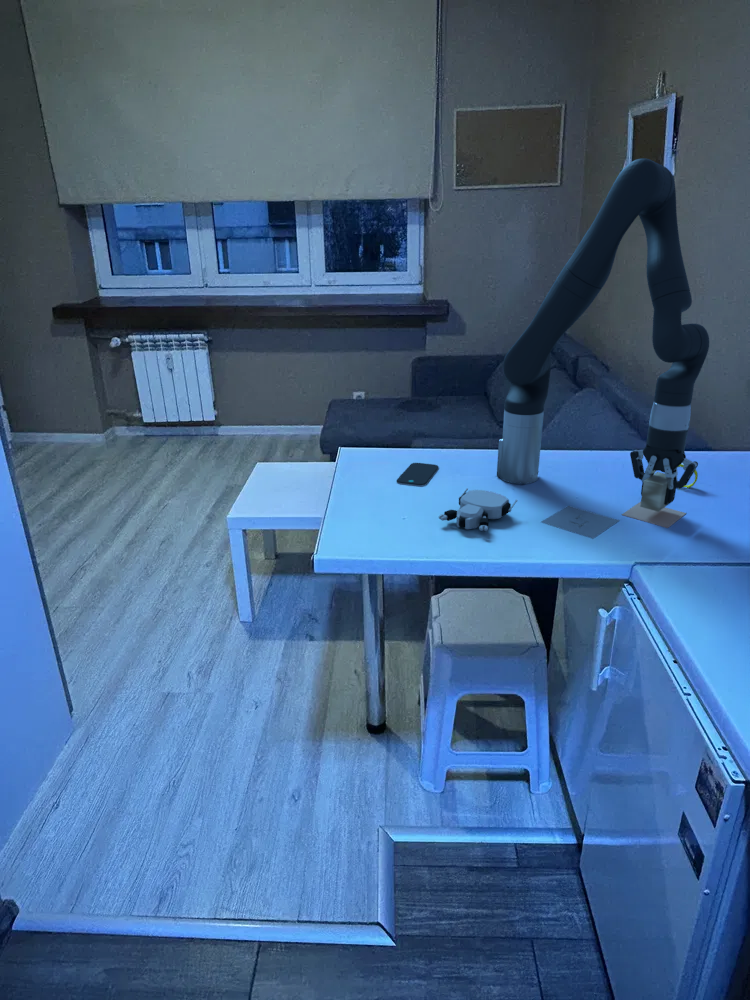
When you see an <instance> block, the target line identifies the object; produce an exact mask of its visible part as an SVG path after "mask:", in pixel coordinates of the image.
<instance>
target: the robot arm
mask: <svg viewBox="0 0 750 1000" xmlns="http://www.w3.org/2000/svg"><path fill="white" fill-rule="evenodd" d="M676 192H677V191H676V182H675V178H674V175H673V172H671V170H670V169H669V168H667V167H666V166H664V165H662V164H660V163H658V162H656V161H654V160H652V159H650V158H646V157H645V158H644V157H643V158H637V159H634V160H633V161H631V162H629V163H628V164H627V165H625V167H623V169H622V170H621V171H620V172H619V174H618V175H617V177H616V179H615V180H614V182H613V183H612V186H611V187H610V190H609V191H608V193H607V194H606V195H607V196H606V197H605V199H604V201H603V203H602V205H601V207H600V208H599V211H598V212H597V214H596V216H595V218H594V220H593V222H592V223H591V225H590V227H588V229H587V230H586V233H585V234H584V235H583V237H582V239H581V241H580V242H579V243H578V245H577V246H576V248H575V250H574V252H573V253H572V255H571V256H570V258H569V259H568V261H567V262H566V263H565V265H564V267H563V268H562V270H561V271H560V272H559V273H558V276H557V277H556V279H555V281H554V282H553V284H552V286H551V287H550V289H549V291H548V292H547V294H546V296H545V298H544V299H543V301H542V303H541V304H540V306H539V307H538V310H537V311H536V314H535V316H534V317H533V318H532V320H531V321H530V323H529V324H528V325H527V327H526V329H525V330H524V331H523V333H521V335H520V336H519V338H518V339H517V340H516V341H515V343H514V344H513V345H512V346H511V348H510V349H509V350H508V351H507V353H505V356H504V359H503V362H502V363H503V364H502V370H503V375H504V377H505V379H506V380H507V381H508V382H510V387H509V390H508V392H507V395H506V396H505V399H504V410H503V411H504V412H503V427H502V438H500V439H499V440H498V449H497V463H496V464H497V465H496V477H498V478H500V479H501V480H502V481H505V482H507V483H510V484H516V485H518V484H520V485H521V484H522V485H524V484H525V485H526V484H527V485H528V484H531V483H532V484H533V483H534V482H536V481H538V479H539V478H538V477H539V472H540V471H539V467H540V456H541V446H542V434H543V425H544V412H545V411H544V410H545V404H546V401H547V398H548V395H549V394H548V393H549V387H550V380H551V379H550V378H551V371H552V370H551V369H552V357H551V353H552V351H553V349H554V348H555V346H556V344H557V343H558V342H559V340H560V339H561V338H562V337H563V335H565V333H566V332H567V331H568V330H569V329H570V328H571V327H572V326H573V325H574V324H575V323H576V322H577V321H578V319H580V318H581V316H582V315H583V314H584V313H585V312H586V311H587V310H588V309H589V307H590V306H591V304H592V303H593V302H594V301H595V299H596V298H597V296H598V295H599V293H600V292H601V291H602V289H603V288H604V286H605V284H606V282H607V281H608V279H609V276H610V275H611V272H612V269H613V265H614V262H615V258H616V255H617V251H618V249H619V247H620V246H619V245H620V243H621V241H622V239H623V238H624V236H625V234H626V232H628V230H629V228H630V227H631V225H632V224H633V223H634V221H635V220H636V219H637V218H638V216H639V220H640V221H641V223H642V227H643V229H644V232H645V238H646V245H647V250H646V251H647V256H646V279H647V281H646V282H647V287H648V291H649V296H650V299H651V305H652V308H653V317H652V337H651V338H652V340H651V341H652V347H653V350H654V353H655V354H656V356H657V357H658V359H660V360H661V362H664V363H668V364H669V363H672V364H671V366H670V368H669V369H668V370H666V371H664V372H663V373H661V374H659V376H658V377H657V380H656V385H655V390H654V398H653V404H652V407H651V409H650V417H649V422H648V429H647V437H646V441H645V442H646V445H645V447H644V448H643V449H639V448H636V449H634V450H632V451H631V452H630V453H629V455H630V462H631V466H632V472H633V476H634V478H635V479H639V480H640V481H641V484H642V485H641V491H640V495H641V497H642V491H643V484H644V480H646V479H647V478H650V476H652V475H654V474H655V473H657V472H659V471H660V472H661V473H664V474H665V477H666V479H667V485H668V488H667V489H666V495H665V501H664V504H665V505H667V506H669V505H670V504H671V503H673V502H674V500H675V497H676V490H677V489H681V490H682V489H684V488H683V487H684V486H685V485H688V483H689V481H690V480H691V478H692V476H693V475H694V471H695V470H696V471H697V467H698V465H699V463H698V461H692V460H690V459H688V458H687V455H686V453H685V449H686V445H687V440H688V439H687V437H688V432H689V427H690V424H691V414H692V413H691V411H692V409H691V407H692V401H693V395H694V386H695V383H696V381H697V379H698V377H699V374H700V373H701V370H702V368H703V365H704V364H705V361H706V359H707V355H708V353H709V349H710V335H709V332H708V331H707V329H706V328H705V327H704V326H703V325H702V324H700V323H686V324H685V323H684V324H682V313H684V312H686V311H687V310H689V309H690V308H691V306H692V302H693V301H692V293H691V289H690V285H689V280H688V275H687V272H686V268H685V263H684V258H683V253H682V249H681V241H680V235H679V233H680V232H679V227H678V215H677V195H676V194H677V193H676ZM644 458H645V461H646V462H647V466H646V468H645V469H644V463H643V459H644ZM681 463H683V464H684V467H682V469H683V470H684V472H683V473H682V475H681V477H680V479H679V480H678V473H679V472H678V468H679V467H678V466H679V465H680V464H681ZM677 467H678V468H677ZM656 471H657V472H656Z"/></svg>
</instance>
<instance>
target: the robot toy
mask: <svg viewBox="0 0 750 1000" xmlns="http://www.w3.org/2000/svg"><path fill="white" fill-rule="evenodd" d="M517 502H518V498H516V499H515V501H514V502H513V504H511V503H510V499H508V498H507V497H506V496H505V495H503V494H501V493H497V492H495V491H489V490H483V489H471V490H469V487H466V488H465V490H464V491H463V493H462V494H461V495H460V496H459V497H458V505H459V506H460V507H459V509H458V510H456V509H455V510H454V509H449V510H446V511H444V513H442V514H440V515H439V516H438V519H439V520H441V521H447V522H449V521H453V520H455V519H456V527H457V528H462V529H465V530H471V529H477V528H478V529H479V531H484V532H487V531H488V529H489V524H490V522H489V520H497V519H501V518H502V517H505V516H506V515H507V514H508V513H511V511H512V510H513V507H515V504H517Z"/></svg>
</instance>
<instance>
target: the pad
mask: <svg viewBox="0 0 750 1000" xmlns="http://www.w3.org/2000/svg"><path fill="white" fill-rule="evenodd" d="M640 505H641V501H639V502H638V503H636V504H635V505H633V506H632V507H631V508H629V509H627V510H626V511H625V512H623V513H621V515H622V516H623V517H627V518H630V519H635V520H638V521H641V522H645V523H648V524H652V525H655V526H659V527H662V528H666V529H668V528H670V527H671V526H673V525H674V524H676V523H677V521H679V520H680V519H682V518H683V517H684V516H686V514H687V512H683V511H681V510H676V509H672V508H668V507H664V508H663V509H662V510H660V511H659V512H658V511H654V510H650V509H647V508H643V507H640Z"/></svg>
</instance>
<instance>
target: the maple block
mask: <svg viewBox="0 0 750 1000" xmlns="http://www.w3.org/2000/svg"><path fill="white" fill-rule="evenodd" d="M667 488H668V485H667V479H666V477H665V473H664V472H661V471H660V472H659V471H657V472H655V473H654V475H652V476H650V478H647V479H646V480H644V484H643V491H642V496H641V500H640V502H641V505H640V507H643V508H647V509H650V510H654V511H658V512H659V511H660V510H662V509H663V508H664V507H665V508H667V506H668V505H665V504H664V501H665V495H666V489H667Z"/></svg>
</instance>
